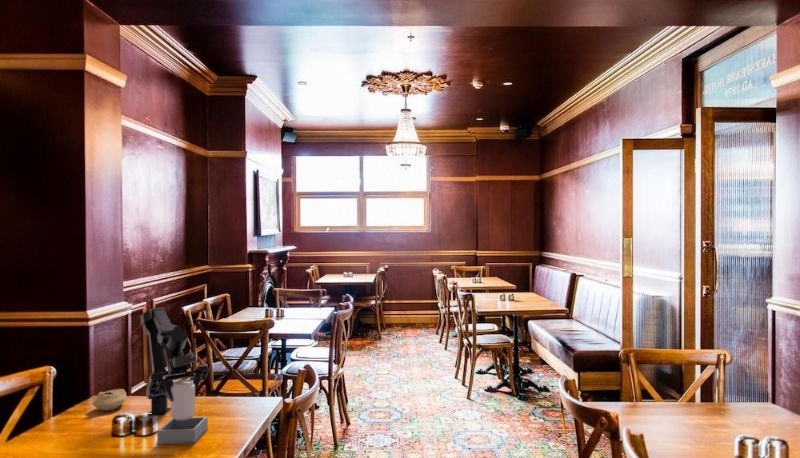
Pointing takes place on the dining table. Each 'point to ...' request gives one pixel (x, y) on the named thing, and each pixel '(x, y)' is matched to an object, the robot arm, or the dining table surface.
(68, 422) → the dining table surface
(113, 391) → the oil lamp
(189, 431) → the open box
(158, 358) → the robot arm
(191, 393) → the can
